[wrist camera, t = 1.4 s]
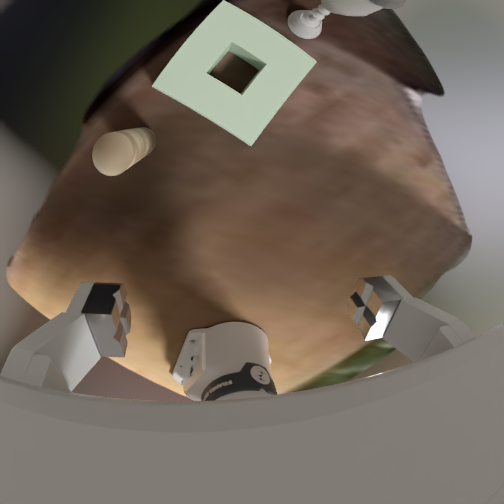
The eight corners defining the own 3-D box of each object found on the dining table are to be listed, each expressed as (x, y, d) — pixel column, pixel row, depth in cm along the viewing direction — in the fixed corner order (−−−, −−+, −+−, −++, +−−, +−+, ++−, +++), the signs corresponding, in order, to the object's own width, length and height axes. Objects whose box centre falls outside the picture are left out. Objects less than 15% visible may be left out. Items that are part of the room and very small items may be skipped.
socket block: (245, 143, 35) (251, 146, 31) (157, 90, 29) (151, 86, 25) (304, 67, 31) (316, 61, 27) (220, 12, 25) (223, 0, 21)
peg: (146, 161, 33) (119, 183, 22) (122, 147, 32) (85, 164, 20) (161, 135, 32) (140, 144, 21) (137, 122, 31) (104, 124, 19)
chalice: (336, 29, 28) (416, -5, 12) (309, 53, 30) (384, 20, 14) (300, -3, 25) (362, -58, 9) (270, 20, 27) (321, -38, 11)
